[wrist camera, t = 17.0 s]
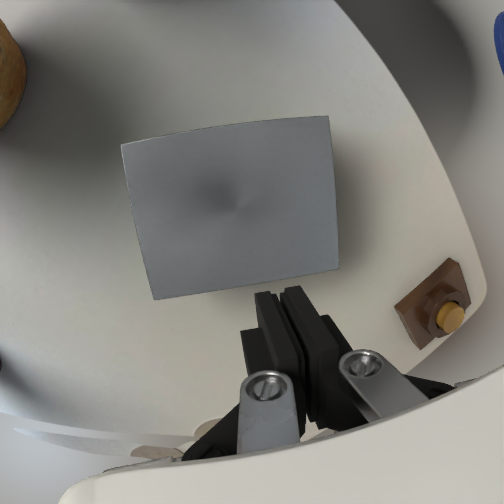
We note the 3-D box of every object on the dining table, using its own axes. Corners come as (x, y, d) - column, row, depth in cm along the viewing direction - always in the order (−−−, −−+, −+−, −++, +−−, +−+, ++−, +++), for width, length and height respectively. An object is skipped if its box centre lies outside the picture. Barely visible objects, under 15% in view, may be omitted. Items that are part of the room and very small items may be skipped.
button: (453, 295, 34) (461, 301, 32) (459, 313, 35) (466, 319, 34) (432, 314, 34) (440, 321, 33) (439, 331, 36) (447, 338, 34)
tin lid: (155, 296, 24) (153, 300, 23) (123, 144, 20) (119, 144, 20) (335, 265, 25) (339, 269, 25) (325, 116, 21) (328, 115, 21)
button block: (448, 257, 36) (468, 268, 33) (462, 297, 39) (479, 309, 35) (393, 306, 37) (409, 321, 34) (412, 341, 40) (427, 357, 36)
